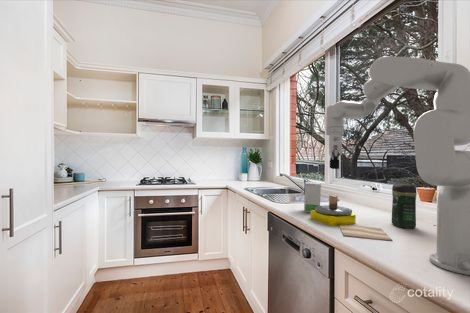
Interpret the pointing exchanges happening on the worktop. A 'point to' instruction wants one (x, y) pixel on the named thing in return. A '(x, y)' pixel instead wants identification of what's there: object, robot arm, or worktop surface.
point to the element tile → (333, 218)
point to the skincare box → (312, 196)
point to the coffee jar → (404, 205)
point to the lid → (333, 207)
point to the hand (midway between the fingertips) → (334, 168)
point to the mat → (364, 232)
